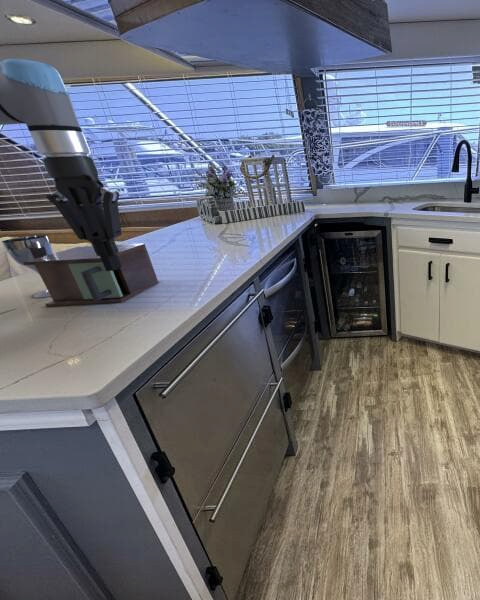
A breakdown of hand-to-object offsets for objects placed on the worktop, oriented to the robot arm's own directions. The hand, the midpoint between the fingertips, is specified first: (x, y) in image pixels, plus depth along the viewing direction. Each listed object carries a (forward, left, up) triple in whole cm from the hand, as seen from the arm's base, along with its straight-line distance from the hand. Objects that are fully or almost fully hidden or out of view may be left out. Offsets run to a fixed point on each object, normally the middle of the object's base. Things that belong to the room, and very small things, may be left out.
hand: (114, 269), depth 73 cm
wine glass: (-30, +14, -10) cm, 34 cm away
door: (-9, +2, -8) cm, 12 cm away
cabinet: (-13, +10, -9) cm, 19 cm away
